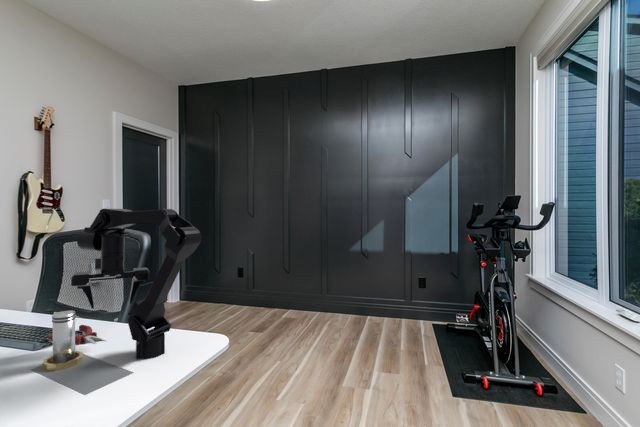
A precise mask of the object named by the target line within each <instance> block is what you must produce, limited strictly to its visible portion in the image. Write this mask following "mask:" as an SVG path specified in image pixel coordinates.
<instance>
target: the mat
mask: <svg viewBox="0 0 640 427" xmlns="http://www.w3.org/2000/svg"><path fill="white" fill-rule="evenodd" d="M50 364H53V362H52V363H50ZM30 371H32V372H34V373H37V375H38V374H39V375H41V376H43V377H44V378H46V379H49V380H51V381H54V382H55V383H58V384H60V385H62V386H64V387H67V388H68V389H71V390H73V391H75V392H78V393H79V394H81V395H84V396H87V395H89V394H91V393H93V392H95V391H97V390H99V389H102V388H104V387H106V386H108V385H111V384H113V383H115V382H117V381H119V380H121V379H123V378H126V377H128V376H130V375H133V374H134V373H135V372H133V371H132V370H129V369H126V368H123V367H121V366H117V365H115V364H111V363H109V362H106V361H104V360H101V359H99V358H95V357H93V356H90V355H88V354H84V353H83V360H82V362H81V363H79V364H78V365H76V366H73V367H70V368H68V369H63V370H58V371H46V370H43V364H42V365H39V366H36V367H34V368H30Z"/></svg>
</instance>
